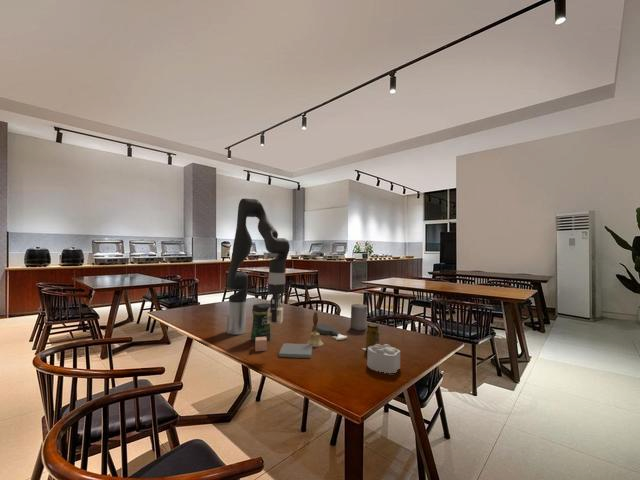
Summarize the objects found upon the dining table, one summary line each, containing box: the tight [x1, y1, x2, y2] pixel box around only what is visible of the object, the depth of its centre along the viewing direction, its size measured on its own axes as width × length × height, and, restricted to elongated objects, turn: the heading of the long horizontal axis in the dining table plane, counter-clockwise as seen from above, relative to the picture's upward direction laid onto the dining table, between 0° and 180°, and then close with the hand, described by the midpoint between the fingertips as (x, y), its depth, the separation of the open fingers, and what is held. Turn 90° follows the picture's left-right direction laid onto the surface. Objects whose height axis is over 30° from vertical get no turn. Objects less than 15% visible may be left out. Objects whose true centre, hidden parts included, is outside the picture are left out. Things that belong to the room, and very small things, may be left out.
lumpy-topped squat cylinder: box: [366, 343, 401, 375], centre depth 127 cm, size 10×13×9 cm
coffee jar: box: [250, 302, 272, 342], centre depth 159 cm, size 10×8×19 cm
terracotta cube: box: [254, 337, 268, 352], centre depth 145 cm, size 5×5×5 cm
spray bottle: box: [312, 323, 348, 341], centre depth 173 cm, size 3×11×24 cm
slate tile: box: [278, 342, 313, 359], centre depth 142 cm, size 14×14×2 cm
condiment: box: [361, 323, 380, 353], centre depth 147 cm, size 7×8×12 cm
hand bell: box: [306, 311, 324, 348], centre depth 154 cm, size 8×8×16 cm
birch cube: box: [267, 307, 284, 325], centre depth 138 cm, size 6×6×6 cm
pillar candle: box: [349, 303, 368, 331], centre depth 187 cm, size 10×10×15 cm
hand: (275, 320), depth 138 cm, fingers closed on birch cube, 6 cm apart
